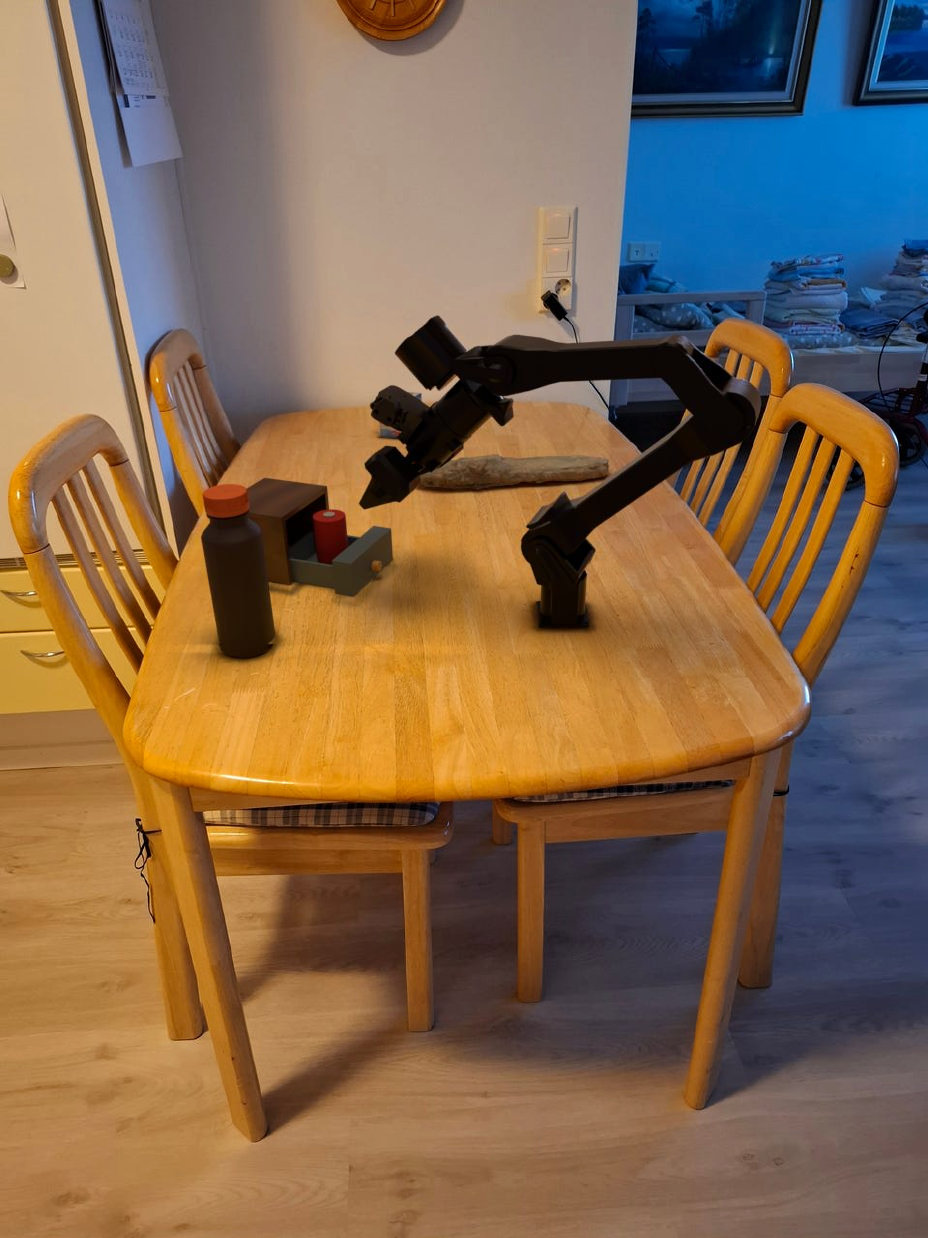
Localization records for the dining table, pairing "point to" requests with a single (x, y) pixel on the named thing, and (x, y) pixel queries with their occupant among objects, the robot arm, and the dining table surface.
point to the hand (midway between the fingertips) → (377, 493)
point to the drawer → (343, 561)
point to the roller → (330, 534)
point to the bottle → (237, 573)
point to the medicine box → (389, 431)
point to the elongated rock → (514, 471)
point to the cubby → (284, 519)
